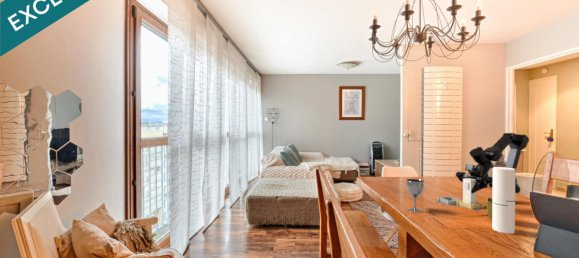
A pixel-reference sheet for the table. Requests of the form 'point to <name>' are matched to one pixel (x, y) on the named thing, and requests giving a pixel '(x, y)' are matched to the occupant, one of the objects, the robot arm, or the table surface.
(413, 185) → the wine glass
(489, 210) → the flower pot
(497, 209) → the cylindrical container
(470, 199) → the plug
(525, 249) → the table surface
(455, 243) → the table surface
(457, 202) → the port console
